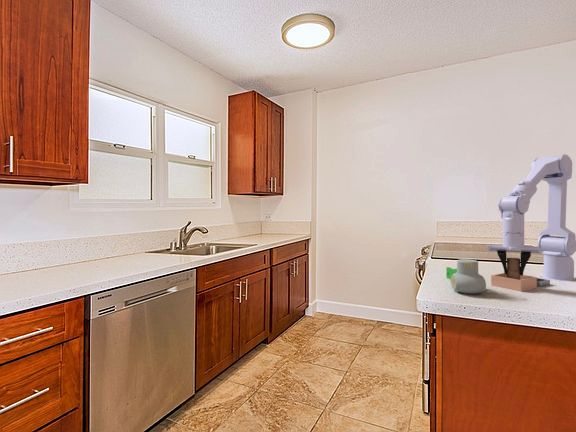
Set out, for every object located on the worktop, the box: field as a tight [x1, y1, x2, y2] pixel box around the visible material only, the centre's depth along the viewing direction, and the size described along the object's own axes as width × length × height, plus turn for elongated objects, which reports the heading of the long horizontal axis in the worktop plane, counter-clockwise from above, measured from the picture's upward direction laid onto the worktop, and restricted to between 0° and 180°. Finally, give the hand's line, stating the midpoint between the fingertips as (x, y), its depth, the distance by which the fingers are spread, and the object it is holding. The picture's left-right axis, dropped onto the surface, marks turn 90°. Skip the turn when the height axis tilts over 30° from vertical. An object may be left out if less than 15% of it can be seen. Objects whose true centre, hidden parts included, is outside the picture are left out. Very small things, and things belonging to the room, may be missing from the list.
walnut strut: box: [506, 257, 521, 280], centre depth 105 cm, size 4×4×8 cm
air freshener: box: [450, 258, 487, 295], centre depth 102 cm, size 11×8×10 cm
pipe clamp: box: [445, 266, 457, 281], centre depth 115 cm, size 11×4×5 cm, turn 173°
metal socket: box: [537, 277, 551, 288], centre depth 108 cm, size 6×6×2 cm
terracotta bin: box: [490, 272, 538, 293], centre depth 105 cm, size 9×9×4 cm
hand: (513, 274), depth 105 cm, fingers closed on walnut strut, 4 cm apart
